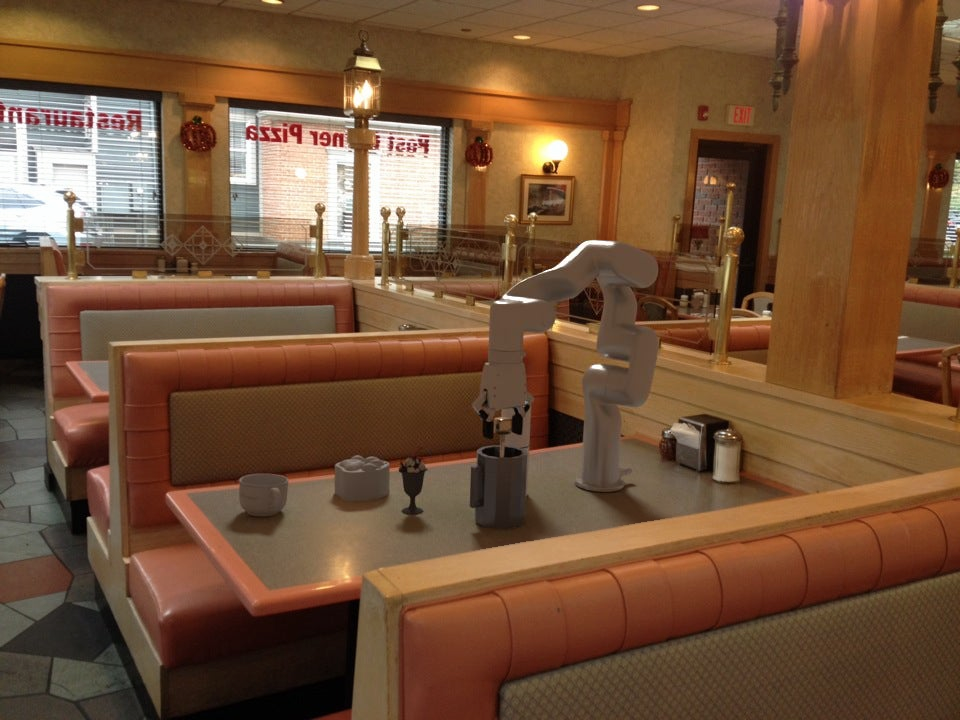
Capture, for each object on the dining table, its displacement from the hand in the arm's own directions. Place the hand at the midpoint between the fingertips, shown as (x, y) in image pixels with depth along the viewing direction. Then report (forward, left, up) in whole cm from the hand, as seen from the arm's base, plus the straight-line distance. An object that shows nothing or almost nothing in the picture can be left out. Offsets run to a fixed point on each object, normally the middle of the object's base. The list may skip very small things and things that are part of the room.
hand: (502, 435), depth 194 cm
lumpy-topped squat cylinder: (+18, -32, -20) cm, 42 cm away
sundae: (+14, -15, -20) cm, 29 cm away
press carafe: (+1, 0, -20) cm, 20 cm away
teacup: (+44, -29, -20) cm, 56 cm away
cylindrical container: (-14, -14, -20) cm, 28 cm away
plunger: (0, 0, -18) cm, 18 cm away
